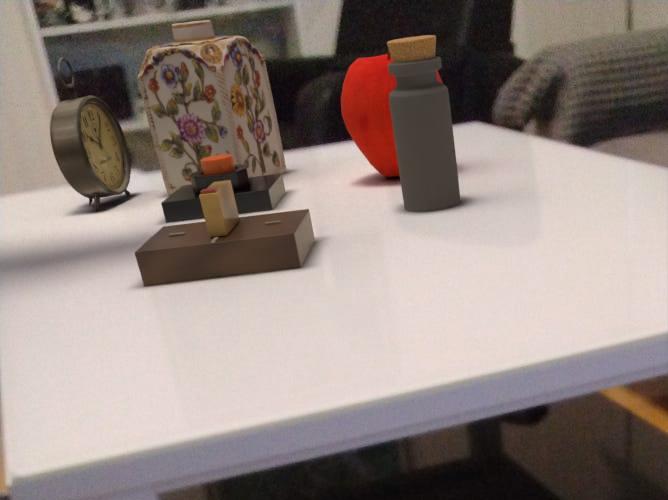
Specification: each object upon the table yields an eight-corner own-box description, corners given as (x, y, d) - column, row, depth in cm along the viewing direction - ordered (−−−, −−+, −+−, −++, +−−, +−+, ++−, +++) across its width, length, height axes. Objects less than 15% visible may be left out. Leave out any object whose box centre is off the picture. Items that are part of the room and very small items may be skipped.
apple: (349, 193, 116) (327, 59, 109) (358, 174, 126) (338, 50, 118) (453, 180, 116) (437, 44, 108) (453, 162, 125) (439, 37, 118)
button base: (166, 223, 113) (156, 185, 111) (186, 205, 121) (177, 169, 119) (272, 210, 112) (264, 171, 110) (286, 193, 121) (278, 156, 118)
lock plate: (144, 287, 89) (133, 250, 88) (171, 259, 98) (162, 224, 96) (301, 269, 89) (293, 231, 87) (315, 241, 97) (308, 206, 95)
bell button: (201, 178, 113) (197, 161, 112) (207, 173, 116) (203, 156, 115) (232, 175, 113) (229, 157, 112) (238, 169, 116) (235, 152, 115)
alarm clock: (105, 213, 123) (59, 59, 114) (65, 217, 124) (16, 65, 115) (143, 194, 132) (104, 50, 122) (105, 197, 133) (63, 55, 124)
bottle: (395, 214, 103) (370, 44, 95) (417, 201, 108) (395, 37, 100) (449, 212, 102) (429, 38, 93) (468, 198, 106) (450, 32, 98)
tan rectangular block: (223, 222, 94) (212, 179, 92) (239, 220, 94) (230, 176, 92) (209, 237, 89) (197, 192, 87) (227, 235, 89) (216, 189, 87)
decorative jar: (165, 197, 127) (121, 31, 117) (211, 177, 136) (174, 21, 126) (249, 192, 124) (211, 20, 114) (291, 172, 133) (259, 11, 123)
